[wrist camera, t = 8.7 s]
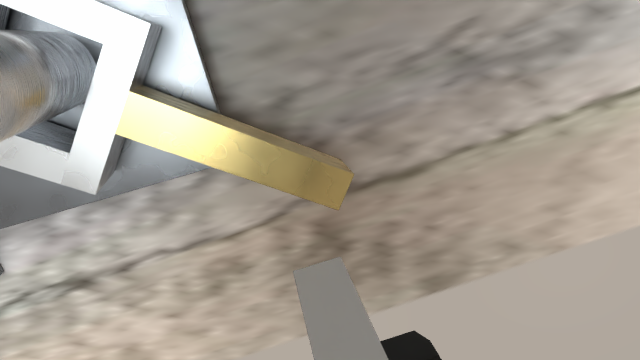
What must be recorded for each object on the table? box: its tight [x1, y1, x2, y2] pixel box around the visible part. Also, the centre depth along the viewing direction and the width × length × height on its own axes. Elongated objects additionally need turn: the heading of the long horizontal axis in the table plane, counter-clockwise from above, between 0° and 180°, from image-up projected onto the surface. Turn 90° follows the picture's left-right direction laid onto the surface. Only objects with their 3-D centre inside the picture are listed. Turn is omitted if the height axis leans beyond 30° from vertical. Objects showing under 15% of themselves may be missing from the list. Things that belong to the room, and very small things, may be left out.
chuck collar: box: [0, 0, 354, 210], centre depth 19 cm, size 15×6×3 cm, turn 68°
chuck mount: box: [0, 0, 221, 229], centre depth 20 cm, size 11×11×2 cm
